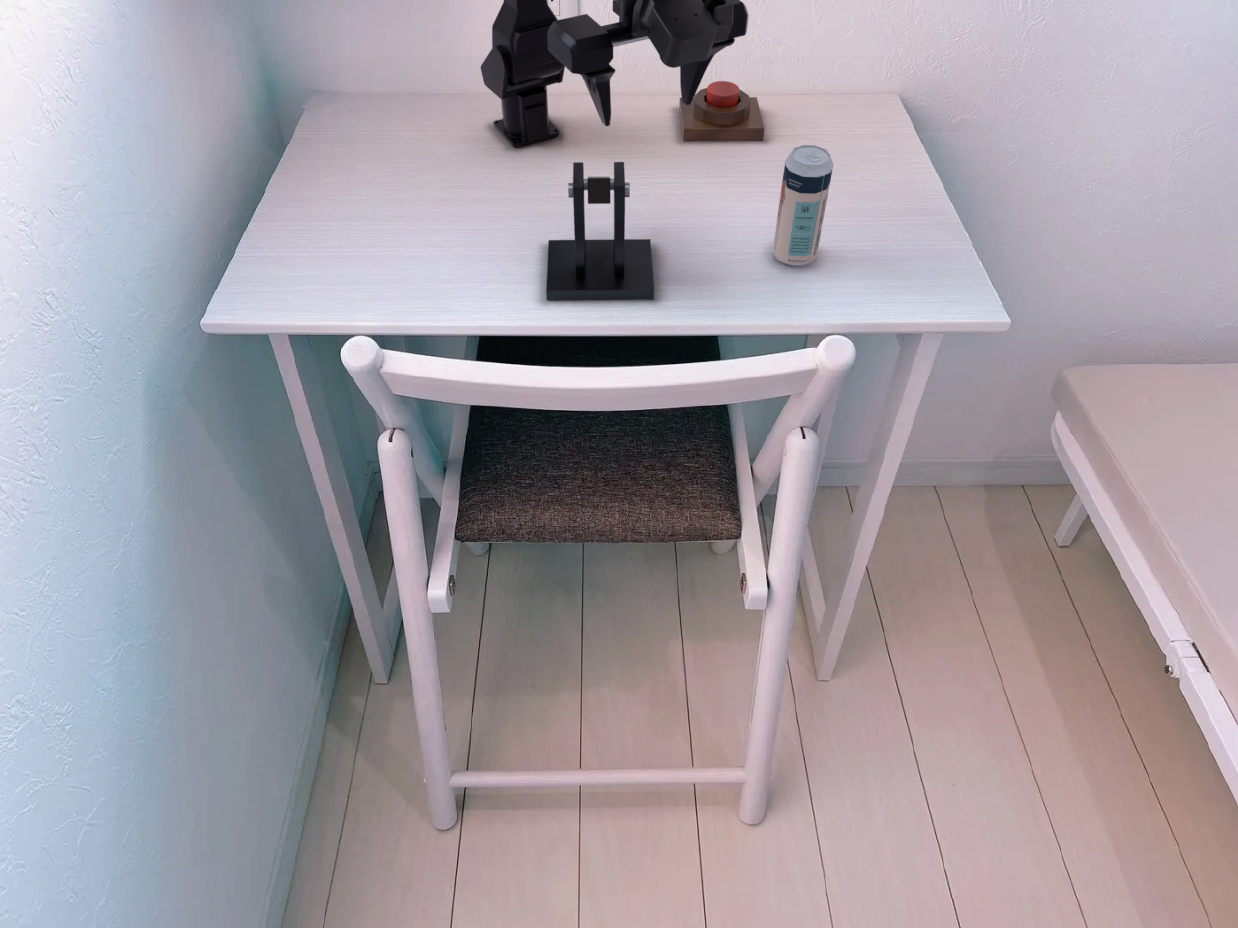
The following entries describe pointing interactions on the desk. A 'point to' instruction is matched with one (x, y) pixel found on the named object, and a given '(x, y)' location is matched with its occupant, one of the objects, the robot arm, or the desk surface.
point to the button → (722, 94)
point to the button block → (721, 120)
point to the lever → (598, 189)
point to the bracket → (599, 254)
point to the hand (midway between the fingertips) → (646, 114)
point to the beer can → (802, 205)
